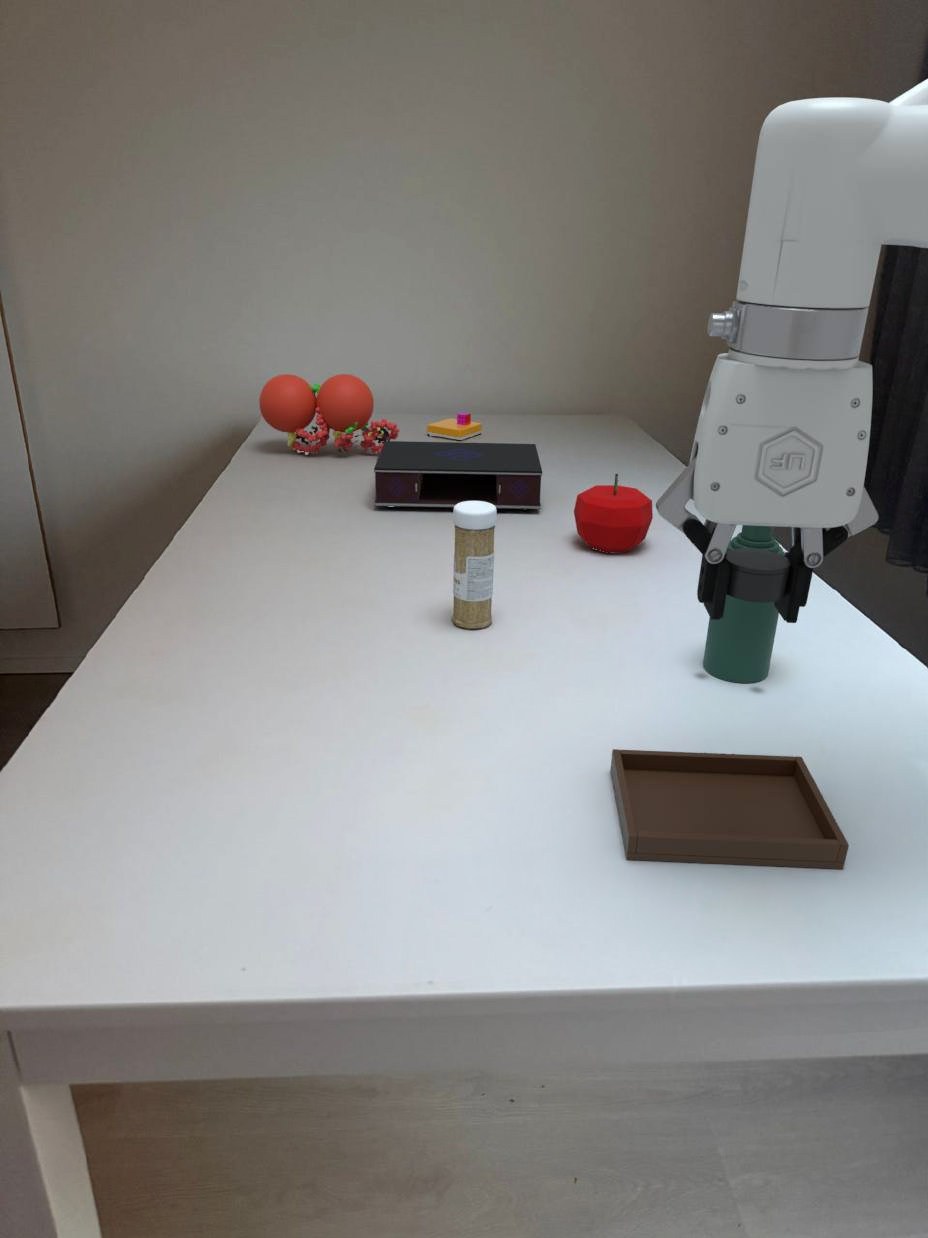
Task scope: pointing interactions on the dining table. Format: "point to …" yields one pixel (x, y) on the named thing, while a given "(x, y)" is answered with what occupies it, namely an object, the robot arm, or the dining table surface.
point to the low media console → (458, 474)
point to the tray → (724, 810)
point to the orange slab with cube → (455, 426)
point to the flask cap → (757, 575)
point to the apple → (613, 517)
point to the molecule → (323, 411)
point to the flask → (743, 624)
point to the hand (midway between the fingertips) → (748, 610)
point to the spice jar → (473, 563)
